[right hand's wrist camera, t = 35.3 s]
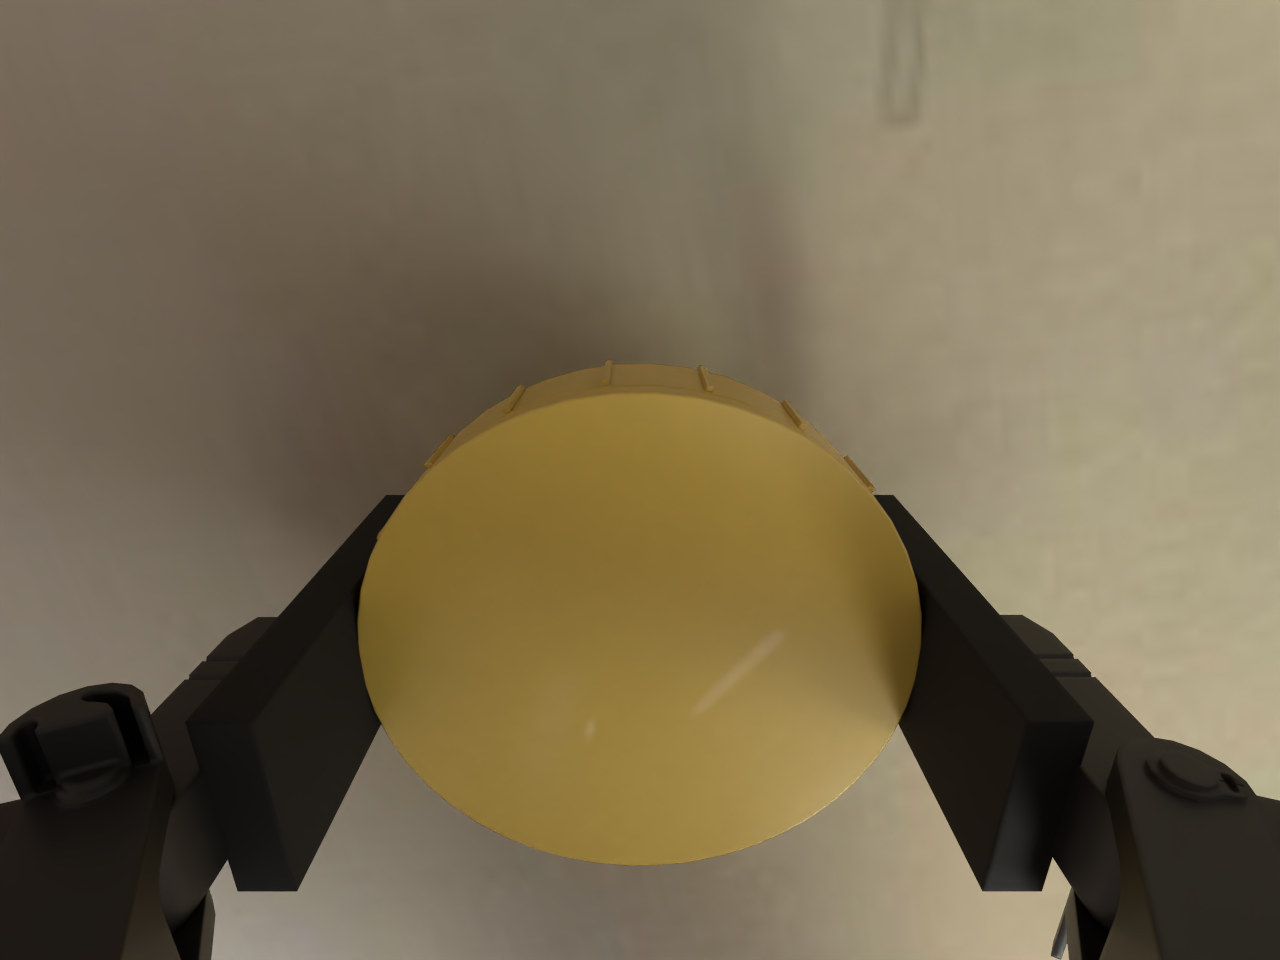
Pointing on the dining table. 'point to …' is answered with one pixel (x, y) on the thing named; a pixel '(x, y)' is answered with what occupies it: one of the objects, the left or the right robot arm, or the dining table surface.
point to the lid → (639, 618)
